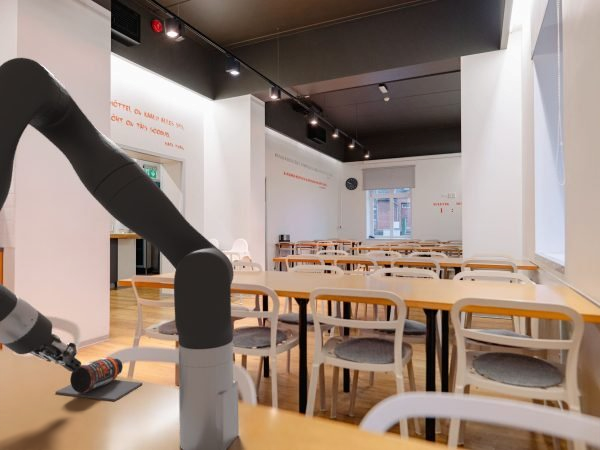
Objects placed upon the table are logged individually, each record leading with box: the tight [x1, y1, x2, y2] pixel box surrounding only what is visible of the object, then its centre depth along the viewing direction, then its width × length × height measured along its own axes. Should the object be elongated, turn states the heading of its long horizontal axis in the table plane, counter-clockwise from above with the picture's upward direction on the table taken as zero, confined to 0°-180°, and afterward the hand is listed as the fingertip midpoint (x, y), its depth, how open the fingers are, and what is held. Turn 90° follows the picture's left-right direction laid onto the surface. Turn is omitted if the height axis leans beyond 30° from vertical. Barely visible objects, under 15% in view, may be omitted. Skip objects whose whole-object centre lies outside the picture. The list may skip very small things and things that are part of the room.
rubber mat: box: [55, 379, 143, 402], centre depth 90 cm, size 16×9×1 cm, turn 75°
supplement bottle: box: [70, 356, 123, 393], centre depth 91 cm, size 6×6×11 cm
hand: (76, 367), depth 84 cm, fingers closed
